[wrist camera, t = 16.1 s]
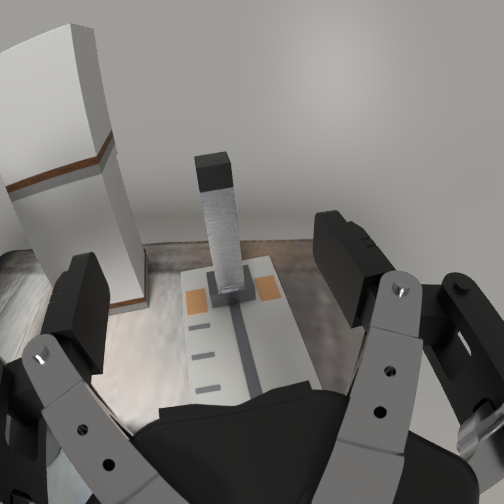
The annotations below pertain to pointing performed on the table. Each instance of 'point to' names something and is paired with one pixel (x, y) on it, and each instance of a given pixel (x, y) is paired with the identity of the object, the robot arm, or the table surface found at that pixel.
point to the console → (242, 340)
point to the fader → (222, 232)
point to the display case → (68, 162)
